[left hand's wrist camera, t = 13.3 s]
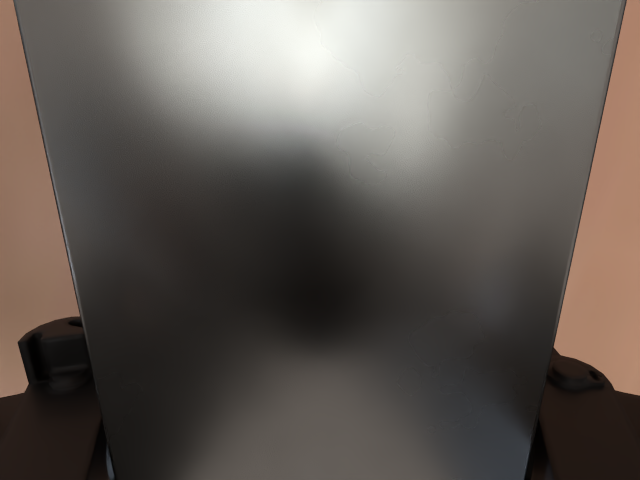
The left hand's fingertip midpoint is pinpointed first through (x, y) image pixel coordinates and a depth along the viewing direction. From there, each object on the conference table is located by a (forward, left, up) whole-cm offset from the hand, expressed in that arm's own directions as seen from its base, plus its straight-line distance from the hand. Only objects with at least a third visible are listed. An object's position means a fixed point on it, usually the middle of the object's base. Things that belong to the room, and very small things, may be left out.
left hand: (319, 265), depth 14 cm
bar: (-2, +7, -1) cm, 8 cm away
